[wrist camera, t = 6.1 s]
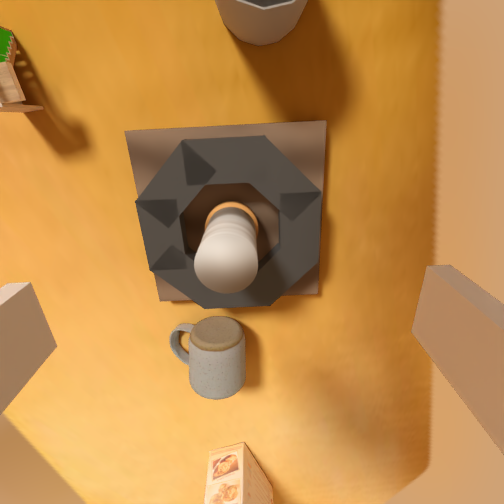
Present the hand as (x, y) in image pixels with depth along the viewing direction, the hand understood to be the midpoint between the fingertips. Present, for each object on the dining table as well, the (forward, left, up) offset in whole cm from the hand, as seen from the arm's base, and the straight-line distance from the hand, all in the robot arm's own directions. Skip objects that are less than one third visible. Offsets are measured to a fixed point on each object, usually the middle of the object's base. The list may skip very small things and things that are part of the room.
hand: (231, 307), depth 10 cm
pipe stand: (+4, -1, -25) cm, 26 cm away
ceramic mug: (+22, -6, -25) cm, 34 cm away
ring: (+4, -1, -21) cm, 22 cm away
